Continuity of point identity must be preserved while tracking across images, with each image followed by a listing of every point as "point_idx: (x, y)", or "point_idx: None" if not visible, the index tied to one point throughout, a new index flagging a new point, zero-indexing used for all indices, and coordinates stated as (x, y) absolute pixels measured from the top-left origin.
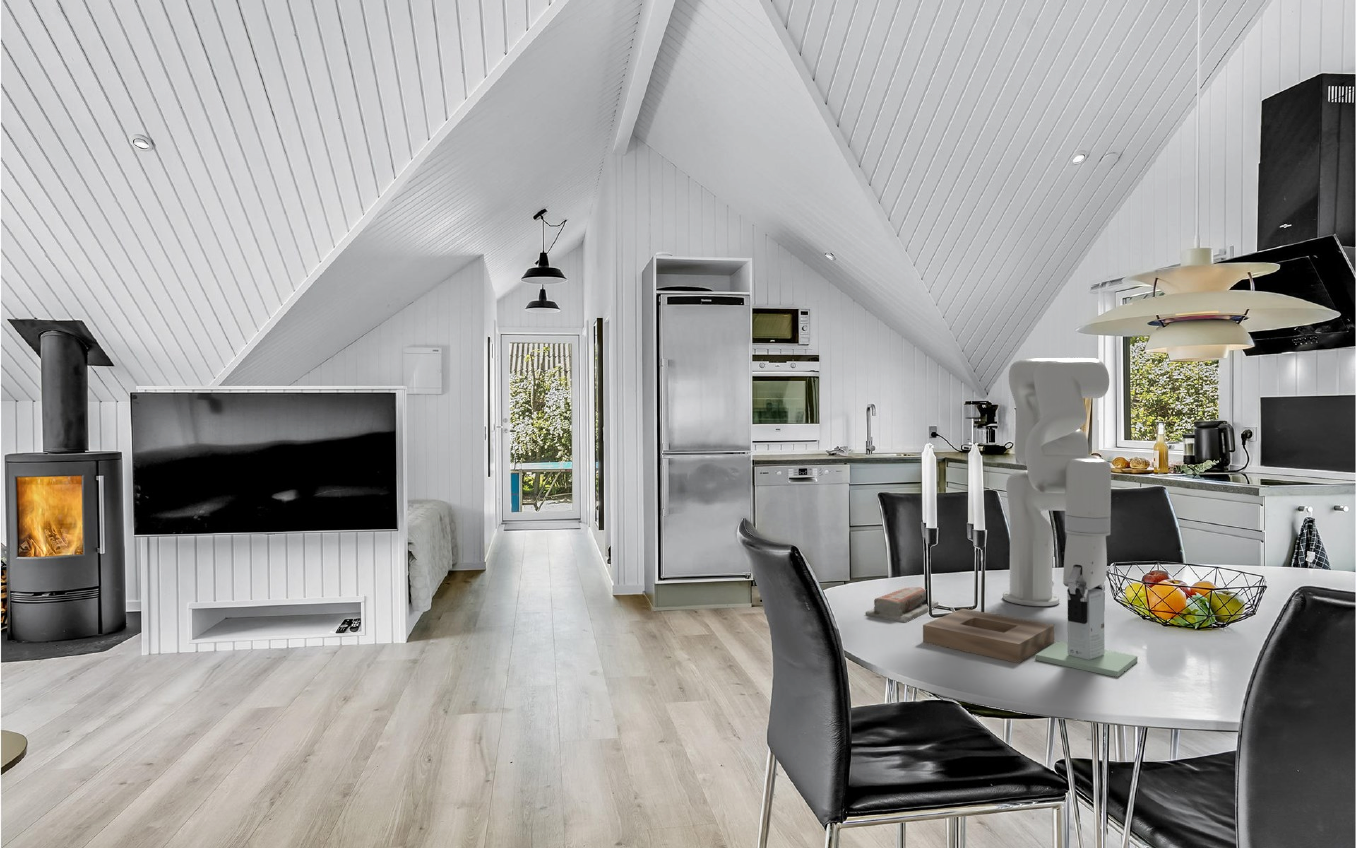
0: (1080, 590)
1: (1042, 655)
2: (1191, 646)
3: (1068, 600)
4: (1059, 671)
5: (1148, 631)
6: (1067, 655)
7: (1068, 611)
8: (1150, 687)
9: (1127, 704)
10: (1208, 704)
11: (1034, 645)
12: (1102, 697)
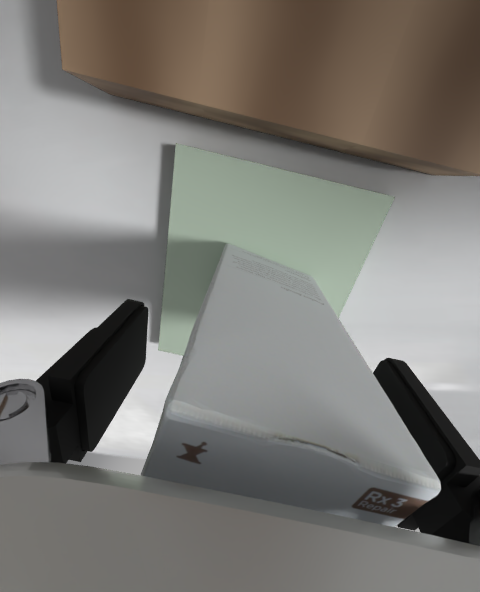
0: (217, 485)
1: (178, 169)
2: (473, 451)
3: (52, 372)
4: (118, 227)
5: None
6: (224, 242)
7: (104, 324)
8: (141, 385)
9: (15, 355)
10: (116, 439)
11: (247, 124)
12: (13, 320)
